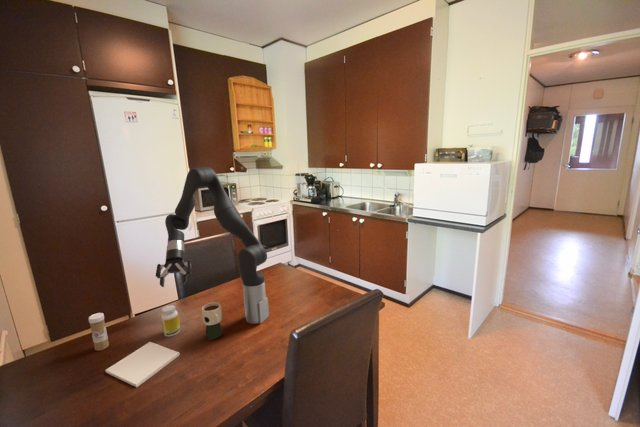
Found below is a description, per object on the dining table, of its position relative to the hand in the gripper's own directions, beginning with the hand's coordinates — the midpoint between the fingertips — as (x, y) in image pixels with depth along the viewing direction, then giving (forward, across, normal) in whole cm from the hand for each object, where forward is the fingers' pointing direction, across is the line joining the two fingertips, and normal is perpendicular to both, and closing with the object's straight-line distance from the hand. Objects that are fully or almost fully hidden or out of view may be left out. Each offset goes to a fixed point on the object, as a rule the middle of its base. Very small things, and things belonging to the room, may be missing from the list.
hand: (173, 285), depth 126 cm
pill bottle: (+20, 0, +3) cm, 20 cm away
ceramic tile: (+31, -6, -9) cm, 33 cm away
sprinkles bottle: (+21, -24, +1) cm, 32 cm away
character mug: (+25, +17, -3) cm, 30 cm away
